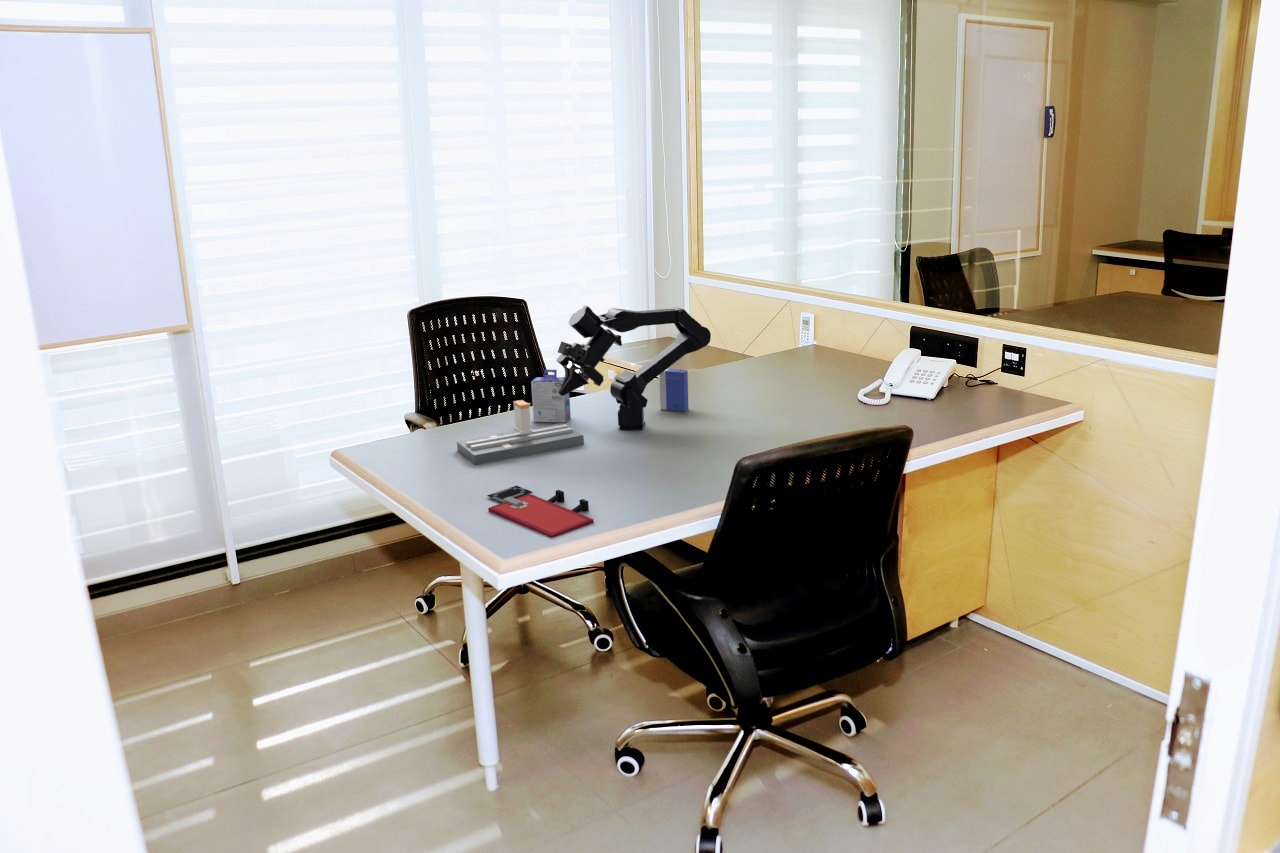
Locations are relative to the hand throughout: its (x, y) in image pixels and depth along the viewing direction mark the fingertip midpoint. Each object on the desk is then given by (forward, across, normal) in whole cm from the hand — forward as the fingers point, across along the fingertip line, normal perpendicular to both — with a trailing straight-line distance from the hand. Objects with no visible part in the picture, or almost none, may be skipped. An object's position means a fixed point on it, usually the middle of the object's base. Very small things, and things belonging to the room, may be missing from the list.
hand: (560, 394), depth 274 cm
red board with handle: (+28, +45, -9) cm, 54 cm away
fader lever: (+15, 0, -1) cm, 15 cm away
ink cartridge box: (+5, -20, +13) cm, 24 cm away
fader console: (+17, 0, 0) cm, 17 cm away
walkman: (-19, -9, +37) cm, 42 cm away
